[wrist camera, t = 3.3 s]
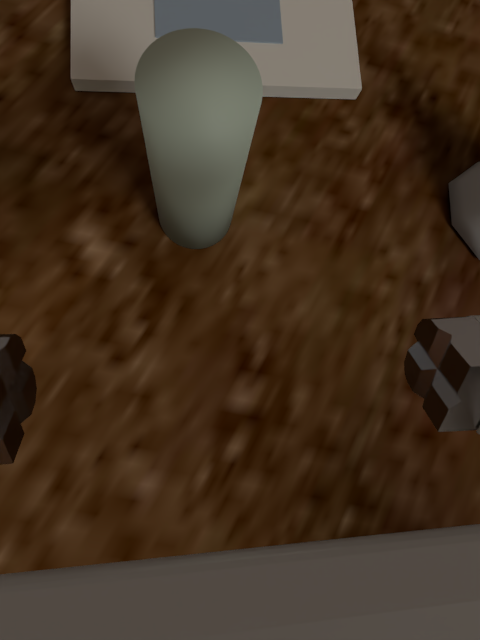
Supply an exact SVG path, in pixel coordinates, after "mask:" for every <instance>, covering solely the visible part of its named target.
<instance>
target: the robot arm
mask: <svg viewBox="0 0 480 640" xmlns="http://www.w3.org/2000/svg"><path fill="white" fill-rule="evenodd" d="M414 335H415V337H416V340H417V343H415V344H414V345H413V346H412V347H411V348H410V349H409V350H408V351H407V355H406V358H405V361H404V371H405V376H406V380H407V383H408V384H409V386H410V388H411V389H412V391H413V392H414V393H416V394H418V395H419V396H421V397H422V398H424V402H423V409H424V410H425V412H426V413H427V415H428V417H429V418H430V420H431V421H432V423H433V425H434V426H435V428H436V429H437V431H438V432H442V431H464V430H477V431H476V432H477V433H478V434H480V315H477V316H467V317H455V318H431V319H422V320H421V321H420V323H419V324H418V325H417V327H416V330H415V332H414ZM25 352H26V349H25V346H24V344H23V341H22V339H21V337H19V336H18V335H16V334H0V465H1V464H11V463H13V462H14V460H15V457H16V454H17V452H18V449H19V446H20V444H21V441H22V438H23V436H24V431H23V429H22V426H21V423H22V422H23V421H24V420H25V419H27V418H28V417H29V416H30V415H31V414H32V411H33V408H34V405H35V401H36V390H37V387H36V379H35V375H34V372H33V369H32V368H31V367H30V366H29V365H27V364H26V363H25V362H23V361H22V359H23V357H24V355H25ZM0 640H480V524H475V525H466V526H456V527H446V528H437V529H427V530H418V531H408V532H399V533H389V534H380V535H370V536H361V537H351V538H342V539H332V540H323V541H313V542H304V543H294V544H285V545H276V546H266V547H257V548H247V549H238V550H229V551H219V552H210V553H200V554H191V555H182V556H172V557H163V558H153V559H144V560H134V561H125V562H115V563H106V564H96V565H87V566H77V567H68V568H58V569H49V570H39V571H30V572H20V573H11V574H1V575H0Z"/></svg>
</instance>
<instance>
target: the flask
mask: <svg viewBox="0 0 480 640" xmlns="http://www.w3.org/2000/svg"><path fill="white" fill-rule="evenodd" d="M449 196H450V209H451V221H452V226H453V227H454V228H455V229H456V231H457V232H458V233H459V235H460V236H461V237H462V238H463V240H464V241H465V242H466V243H467V245H468V246H469V247H470V249H471V250H472V251H473V252H474V254H475V255H476V256H477V258H478V259H479V260H480V161H479V162H477V163H476V164H474V165H473V166H472V167H470V168H469V169H468V170H466V171H465V172H463V173H462V174H461V175H459V176H458V177H457V178H455V179H454V180H452V181H451V182H450V183H449Z"/></svg>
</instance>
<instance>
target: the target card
mask: <svg viewBox="0 0 480 640" xmlns="http://www.w3.org/2000/svg"><path fill="white" fill-rule="evenodd" d="M187 28H200V29H207V30H212V31H215V32H218V33H221V34H223V35H225V36H227V37H229V38H231V39H232V40H234V41H236V42H237V43H238V44H239V45H241V46H242V47H243V48H244V49H245V50H246V51H247V52H248V53H249V55H250V56H251V57H252V59H253V60H254V62H255V64H256V65H257V68H258V70H259V72H260V76H261V79H262V86H263V95H262V97H295V98H327V99H356V98H357V96H358V95H359V93H360V91H361V90H362V85H361V76H360V67H359V58H358V49H357V41H356V32H355V23H354V14H353V5H352V0H71V81H72V84H73V86H74V89H75V91H100V92H132V93H136V92H135V83H134V81H135V72H136V67H137V64H138V62H139V59H140V58H141V56H142V54H143V53H144V51H145V50H146V49H147V47H148V46H149V45H150V44H151V43H153V42H154V41H155V40H157V39H158V38H159V37H161V36H163V35H165V34H167V33H170V32H172V31H176V30H180V29H187Z"/></svg>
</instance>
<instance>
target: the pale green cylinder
mask: <svg viewBox="0 0 480 640" xmlns="http://www.w3.org/2000/svg"><path fill="white" fill-rule="evenodd" d="M134 83H135V92H136V97H137V103H138V108H139V113H140V119H141V124H142V130H143V135H144V140H145V146H146V151H147V157H148V162H149V167H150V173H151V178H152V184H153V189H154V195H155V200H156V205H157V211H158V216H159V221H160V224H161V227H162V229H163V231H164V232H165V234H166V235H167V236H168V237H169V238H170V239H171V240H172V241H173V242H175V243H176V244H178V245H180V246H183V247H186V248H190V249H202V248H207V247H210V246H212V245H214V244H216V243H217V242H219V241H220V240H221V239H222V238H223V237H224V236H225V235H226V233H227V231H228V229H229V227H230V224H231V220H232V216H233V212H234V208H235V204H236V200H237V196H238V192H239V188H240V184H241V180H242V177H243V173H244V169H245V165H246V161H247V157H248V153H249V149H250V145H251V141H252V137H253V133H254V129H255V125H256V121H257V117H258V113H259V109H260V106H261V102H262V95H263V86H262V79H261V76H260V72H259V70H258V68H257V65H256V64H255V62H254V60H253V59H252V57H251V56H250V55H249V53H248V52H247V51H246V50H245V49H244V48H243V47H242V46H241V45H239V44H238V43H237V42H236V41H234V40H232V39H231V38H229V37H227V36H225V35H223V34H221V33H218V32H215V31H212V30H207V29H200V28H187V29H180V30H176V31H172V32H170V33H167V34H165V35H163V36H161V37H159V38H158V39H157V40H155V41H154V42H153V43H151V44H150V45H149V46H148V47H147V49H146V50H145V51H144V53H143V54H142V56H141V58H140V59H139V62H138V64H137V67H136V72H135V81H134Z"/></svg>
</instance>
